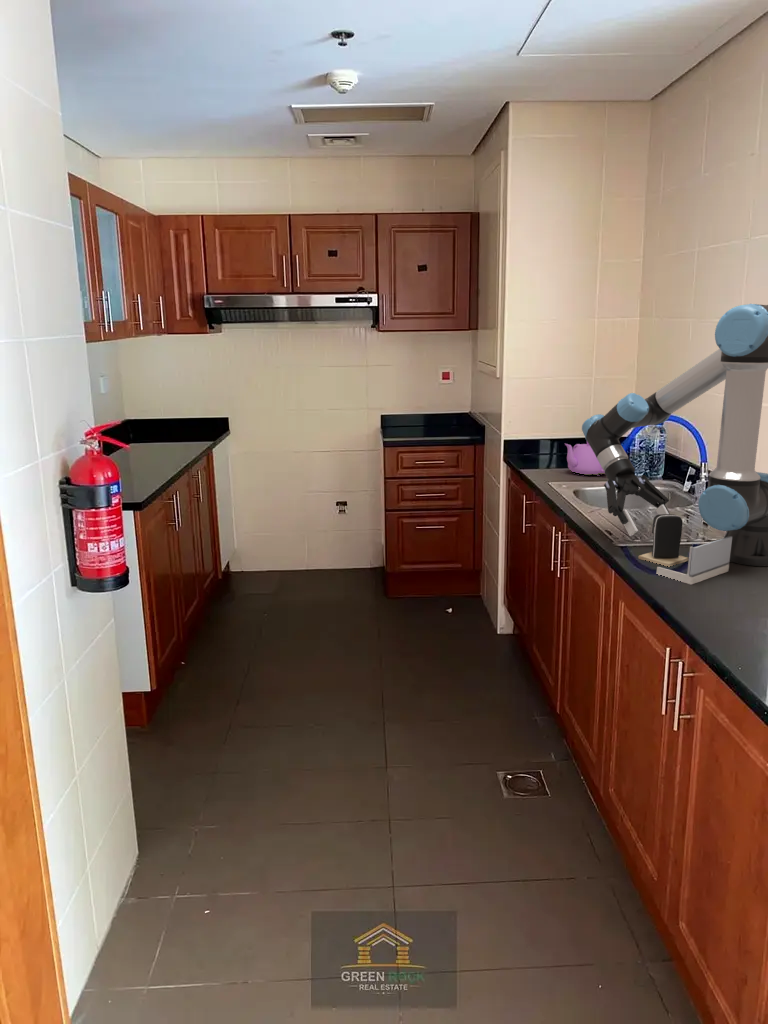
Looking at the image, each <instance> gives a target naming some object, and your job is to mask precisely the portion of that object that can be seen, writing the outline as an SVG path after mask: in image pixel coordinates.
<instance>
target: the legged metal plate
mask: <svg viewBox="0 0 768 1024" xmlns="http://www.w3.org/2000/svg"><path fill="white" fill-rule="evenodd" d="M731 544H732V537H731V536H729V537H726V538H724V537H723V538H720V539H717V540H713V541H711V542H710V541H709V542H706V543H704V544H701V545H697V546H694V547H693V546H690V547H689V554H688V558H689V560H688V561H687V563H688V564H687V572H686V573H682V572H680V571H675V570H672V569H667V568H665V567H661V566H657V567H656V573H655V574H658V575H657V576H660V575H662V576H661V577H663V576H665V577H664V578H666V577H668V578H667V579H670V578H671V579H670V580H673V579H675V580H674V581H677V580H678V581H677V582H680V581H681V583H684V584H687V585H691V586H692V585H694V584H697V583H700V582H703V581H705V580H709V579H711V578H713V577H716V576H718V575H719V576H720V575H722V574H724V573H727V572H729V569H730V552H731Z"/></svg>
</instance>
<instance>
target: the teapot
mask: <svg viewBox="0 0 768 1024" xmlns="http://www.w3.org/2000/svg"><path fill="white" fill-rule="evenodd" d="M564 446H566V448H567V455H566V461H567V468H568V469H569V471H570V470H571V471H572V472H576V473H580V474H598V473H605V471H604V470H603V469H602V467H601V465H600V463H599V461H598V459H597V458H596V455H595V454H594V452H593V450H592V448H591V447H590V445H589V443H588V442H587V441H586V443H581V444H580V443H576V444H575V445H574V446H572V445H571V444H568V443H566V442H565V443H564ZM571 471H570V472H571ZM572 472H571V473H572Z"/></svg>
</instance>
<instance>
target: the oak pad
mask: <svg viewBox="0 0 768 1024" xmlns="http://www.w3.org/2000/svg"><path fill="white" fill-rule="evenodd" d="M638 560H642V561H645V560H646V561H645V562H649V561H650V563H652V562H653V564H656V563H657V564H656V565H659V564H661V565H660V566H663V565H664V567H667V566H668V567H667V568H670V566H671V567H674V566H676V564H677V565H680V564H683V563H685V562H689V556H688V557H687V556H683V555H680V554H679V557H678V558H654V557H653V556H652V551H651V552H647V553H643V554H640V555H638ZM673 565H674V566H673Z"/></svg>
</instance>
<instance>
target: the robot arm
mask: <svg viewBox="0 0 768 1024" xmlns="http://www.w3.org/2000/svg"><path fill="white" fill-rule="evenodd" d="M715 327H716V328H715V329H714V330H715V331H714V340H715V343H716V347H718V349H716V351H714V352H713V353H711V354H709V355H708V356H706V357H705V358H704V359H702V360H701V361H699V362H698V363H696V364H695V365H694V366H692V367H690V368H689V369H687V370H685V372H683V373H682V374H680V375H679V376H677V377H675V378H674V379H672V380H671V381H670V382H667V384H665V385H664V386H662V387H661V388H660V389H658V390H657V391H655V392H654V393H652V394H651V395H649V396H648V397H646V398H644V397H643V396H641V395H640V394H637V393H635V392H631V393H628V394H626V395H625V396H624V397H623V398H621V399H620V400H619V401H618V402H617V403H616V404H615V405H614V406H612V408H611V409H610V410H609V411H608V412H607V413H606V414H605V415H604V414H602V413H601V414H594V415H592V416H590V417H589V418H587V419H586V420H585V421H584V422H583V423H582V425H581V432H582V434H583V435H584V438H585V440H586V443H587V442H588V443H589V445H590V447H591V448H592V450H593V452H594V454H595V455H596V458H597V459H598V461H599V463H600V465H601V467H602V469H603V470H604V471H605V476H606V478H607V481H606V482H605V483H604V484H603V487H604V489H605V491H606V501H607V503H606V504H607V511H608V512H607V513H608V514H610V515H611V514H612V516H614V517H617V518H618V520H619V521H620V523H621V524H622V525H623V526H624V528H625V530H626V532H627V533H628V535H629V536H630V537H632V536H634V535H635V534H636V533H637V532H638V531H639V529H638V528H637V526H636V524H635V522H634V520H633V519H632V517H631V515H630V513H629V511H628V510H627V509H624V508H625V503H626V497H627V496H629V495H630V496H632V495H633V496H634V495H635V496H636V497H640V498H642V499H643V500H644V501H646V502H648V503H649V504H650V505H652V506H653V507H655V508H656V509H655V511H656V513H657V515H659V514H671V513H670V511H669V509H668V508H667V506H666V504H668V503H669V502H670V500H669V498H668V497H666V495H665V494H664V493H663V492H661V490H659V489H658V488H657V487H656V486H655V485H654V484H653V483H652V482H651V481H650V480H649V479H648V477H647V476H646V475H644V474H642V475H641V477H637V476H636V468H635V466H634V465H633V463H632V461H631V459H629V455H628V454H627V452H626V451H625V449H624V447H623V446H622V444H621V442H620V438H622V437H623V436H624V435H625V434H626V433H628V431H630V430H631V429H634V428H639V427H647V426H656V425H657V426H658V425H660V424H664V423H665V422H667V421H668V420H669V418H670V417H671V415H672V414H674V413H675V412H676V411H678V410H680V409H681V408H683V407H685V406H686V405H687V404H689V403H691V402H692V401H694V400H696V399H697V398H699V397H700V396H701V395H703V394H704V393H706V392H708V391H709V390H711V389H713V388H714V387H715V386H717V385H719V384H720V383H722V382H724V381H725V382H724V392H723V394H724V395H723V401H722V402H723V403H722V412H721V422H720V429H719V430H720V431H719V441H718V450H717V451H718V452H717V460H716V467H715V469H713V470H711V471H710V472H709V474H708V482H707V483H708V484H707V488H705V490H703V491H702V493H701V494H700V496H699V498H698V503H697V504H698V507H697V508H698V512H699V514H700V517H701V518H702V519H703V521H704V522H705V523H706V524H707V525H708V526H709V527H710V528H712V529H715V530H717V531H722V532H725V534H724V536H723V538H726V537H729V536H731V537H732V544H731V552H730V561H729V563H730V562H731V563H735V564H739V565H743V566H744V565H745V566H753V567H768V472H767V473H766V472H760V471H756V469H755V468H756V462H757V461H756V460H757V452H758V443H759V442H758V441H759V436H760V435H759V434H760V425H761V419H762V418H761V417H762V410H763V409H762V407H763V401H764V400H763V398H764V391H765V390H764V389H765V381H766V373H767V370H768V304H757V303H747V304H742V305H737V306H734V307H732V308H731V309H729V310H727V311H726V312H725V313H724V314H723V315H722V316H721V317H720V318H719V320H718V322H717V324H716V326H715ZM616 491H617V492H616Z"/></svg>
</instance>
